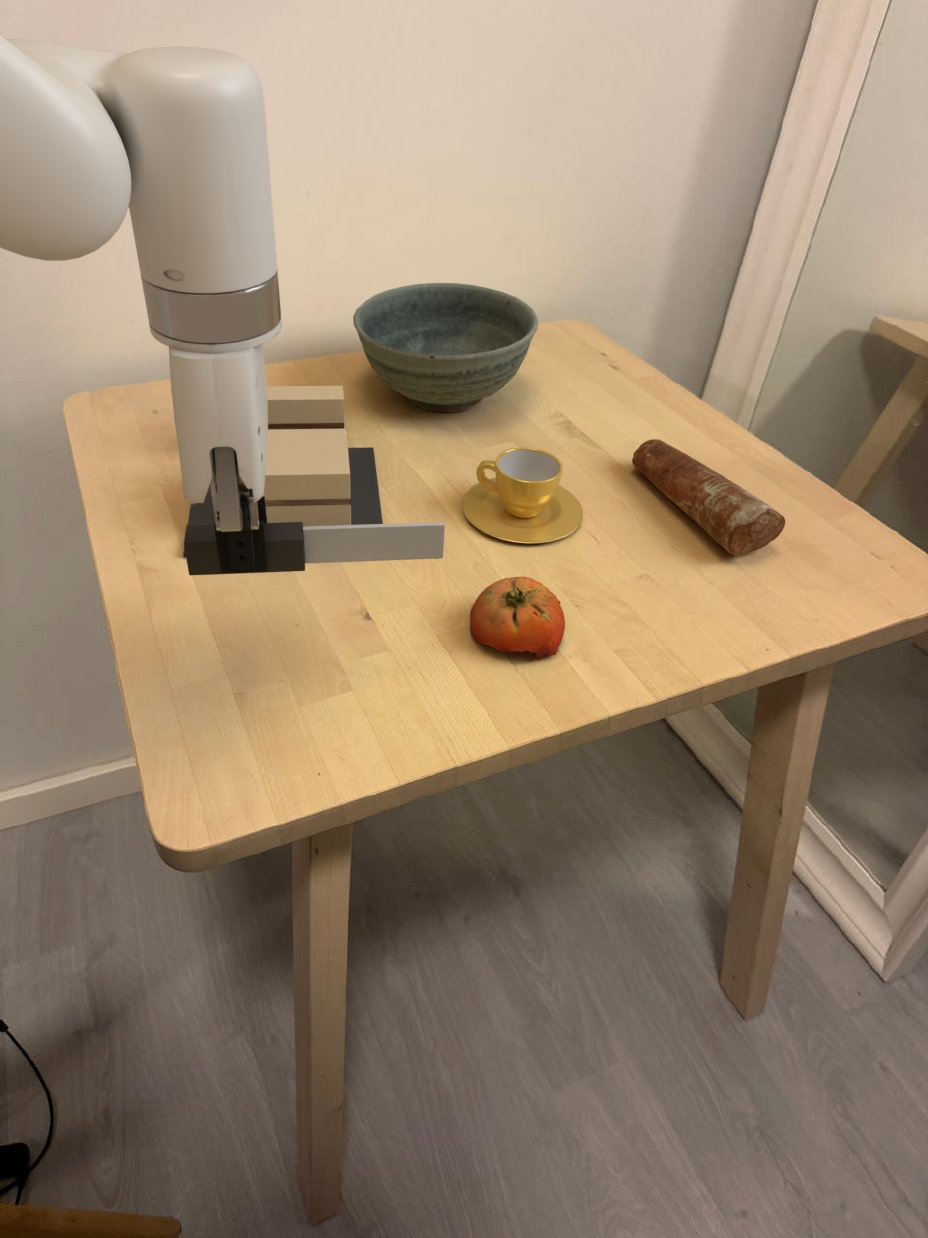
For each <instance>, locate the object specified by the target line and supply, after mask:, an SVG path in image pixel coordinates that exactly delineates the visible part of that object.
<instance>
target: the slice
mask: <svg viewBox="0 0 928 1238" xmlns="http://www.w3.org/2000/svg"><path fill="white" fill-rule="evenodd" d="M267 403H268V430H279V429H346V425H345V424H346V422H345V421H346V420H345V395H344V386H343V385H267Z"/></svg>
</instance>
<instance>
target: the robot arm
mask: <svg viewBox="0 0 928 1238" xmlns="http://www.w3.org/2000/svg"><path fill="white" fill-rule="evenodd" d="M268 142H269V141H268V128H267V115H266V103H265V95H264V89H263V85H262V82H261V79H260V77H259V74H258V72H257V71H256V70H255V68H254V67H253V66H252V64H250V63H249V62H248V61H247V60H245V58H243V57H241V56H238V55H236V54H234V53H232V52H228V51H224V50H219V49H215V48H205V47H195V46H160V47H159V46H158V47H157V46H156V47H149V48H148V47H147V48H141V49H137V50H133V51H131V52H124V51H123V52H122V51H110V50H101V49H92V48H86V47H79V46H71V45H64V44H58V43H51V42H45V41H38V40H31V39H23V38H22V39H21V38H7V39H6V38H5V37H3V36H2V35H1V34H0V249H3V250H5V251H8V252H11V253H13V254H16V255H20V256H22V257H25V258H29V259H34V260H40V261H45V262H65V261H71V260H75V259H81V258H83V257H85V256H87V255H90V254H92V253H94V252H96V251H98V250H99V249H101V248H102V247H103V246H104V245H106V244H107V243H109V242H110V240H111V239H112V238H113V237H114V236H115V235H116V234H117V232H118V231H119V230H120V228H121V226H122V224H123V222H124V220H125V218H126V217H127V214H128V213H127V212H128V210H129V216H130V220H131V221H130V222H131V225H132V226H131V227H132V232H133V233H132V234H133V239H134V244H135V250H136V256H137V261H138V267H139V272H140V279H141V284H142V291H143V296H144V302H145V308H146V313H147V319H148V325H149V331H150V335H152V337H153V338H154V339H155V340H156V341H157V342H159V343H160V344H162V345H164V346H166V347H168V364H169V378H170V379H169V381H170V389H171V390H170V391H171V400H172V401H171V402H172V409H173V410H172V411H173V418H174V427H175V434H176V441H177V449H178V457H179V465H180V474H181V480H182V490H183V497H184V499H185V501H187V503H188V504H190V505H191V504H193V505H195V504H196V503H204V500H205V497H206V494H207V491H208V489H209V486H210V490H211V497H212V504H213V511H214V518H215V523H214V529H215V536H216V542H217V549H218V556H219V563H220V569H221V572H222V573H224V574H223V575H238V573H241V574H262V572H266V571H267V570H268V559H267V549H266V540H265V530H264V523H267V515H266V505H265V496H263V495H264V486H265V473H266V461H267V445H268V403H267V386H268V385H267V372H266V360H265V349H264V344H266V343H268V342H270V341H272V340H274V339H275V338H276V337H277V335H279V334H280V332H281V330H282V327H283V323H282V321H283V320H282V309H281V295H280V283H279V271H278V270H279V269H278V259H277V246H276V235H275V234H276V233H275V221H274V220H275V219H274V211H273V209H274V208H273V197H272V196H273V195H272V184H271V183H272V182H271V170H270V169H271V168H270V156H269V145H268V144H269V143H268Z"/></svg>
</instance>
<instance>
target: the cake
mask: <svg viewBox="0 0 928 1238" xmlns="http://www.w3.org/2000/svg"><path fill="white" fill-rule="evenodd" d="M348 444H349V443H348V431H347V428H345V429H279V430H268V445H267V461H266V473H265V486H264V495H263V496H265V505H266V515H267V523H280V522H303V527H304V526H335V525H367V524H384V522H383V514H382V507H381V497H380V493H379V492H380V490H379V482H378V475H377V466H376V458H375V450H374V446H373V447H368V446H367V447H365V446H364V447H349V445H348ZM214 523H215V518H214V511H213V504H212V497H211V490H210V486H209V489H208V491H207V494H206V497H205V500H204V503H196V504H195V505H193V504H190V508H189V513H188V521H187V525H214ZM182 551H183V552H182V554H183V558H184V559H186V554H185V548H184V547H183V550H182Z"/></svg>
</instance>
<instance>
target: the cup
mask: <svg viewBox="0 0 928 1238" xmlns="http://www.w3.org/2000/svg"><path fill="white" fill-rule="evenodd" d="M485 470H490V471H493V472H494V473H495V476H494V477H490V478H489V477H487V475H486V474H485ZM563 470H564V467H563V463H562V461H561V460H560V459H559V458H558V457H557V456H555V454H553V453H551V452H549V451H547V450H543V449H540V448H536V447H528V446H525V447H523V446H521V447H520V446H519V447H513V448H509V449H506V450H504V451H502V452H501V453H499V454H497V456H496V458H495V460H488V459H485V460H482V461H481V462H480V463H479V464H478V466H477V467H476V472H475V473H476V478H477V482H478V483H476V484H474V485H472V487H470V488H469V489H468V490H467V491H466V493H465V494H464V496H463V498H462V502H461V507H462V511H463V514H464V516H465V518H466V519H467V520H468V522H469V523H470V524H472V525H473V526H474V527H475V528H477V529H478V530H480V532H483V533H484V534H487V535H489V536H491V537H494V538H497V539H500V540H503V541H508V542H513V543H520V544H541V543H542V544H543V543H549V542H555V541H557V540H560V539H563V538H565V537H567V536H569V535H571V534H572V533H573V532H575V531H576V530H577V529H578V528H579V527H580V525H581V524H582V522H583V518H584V510H583V506H582V505H581V503H580V501H579V499H578V498H577V497H576V496H575V495H574V494H573V493H571V492H570V491H569V490H568V489H566V488H564V487H563V486H561V485H559V484H560V481H561V478H562V474H563Z"/></svg>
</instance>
